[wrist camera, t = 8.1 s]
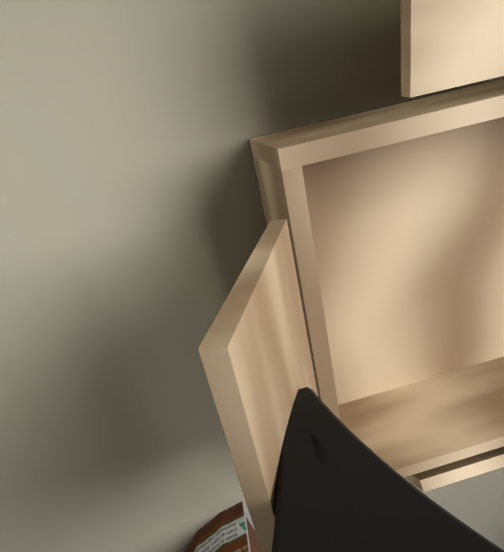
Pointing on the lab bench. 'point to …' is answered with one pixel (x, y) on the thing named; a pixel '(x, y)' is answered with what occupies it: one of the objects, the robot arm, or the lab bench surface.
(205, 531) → the food container
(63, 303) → the lab bench surface
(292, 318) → the flap
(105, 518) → the lab bench surface
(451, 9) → the flap
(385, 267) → the carton
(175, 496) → the lab bench surface
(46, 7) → the lab bench surface
